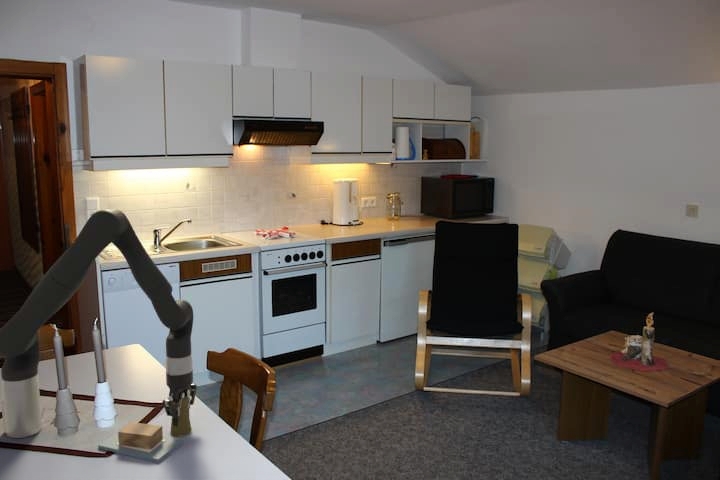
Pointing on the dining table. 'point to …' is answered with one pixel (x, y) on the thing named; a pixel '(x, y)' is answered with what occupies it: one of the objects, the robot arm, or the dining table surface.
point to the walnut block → (140, 435)
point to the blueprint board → (155, 454)
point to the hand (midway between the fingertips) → (181, 423)
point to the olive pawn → (182, 419)
